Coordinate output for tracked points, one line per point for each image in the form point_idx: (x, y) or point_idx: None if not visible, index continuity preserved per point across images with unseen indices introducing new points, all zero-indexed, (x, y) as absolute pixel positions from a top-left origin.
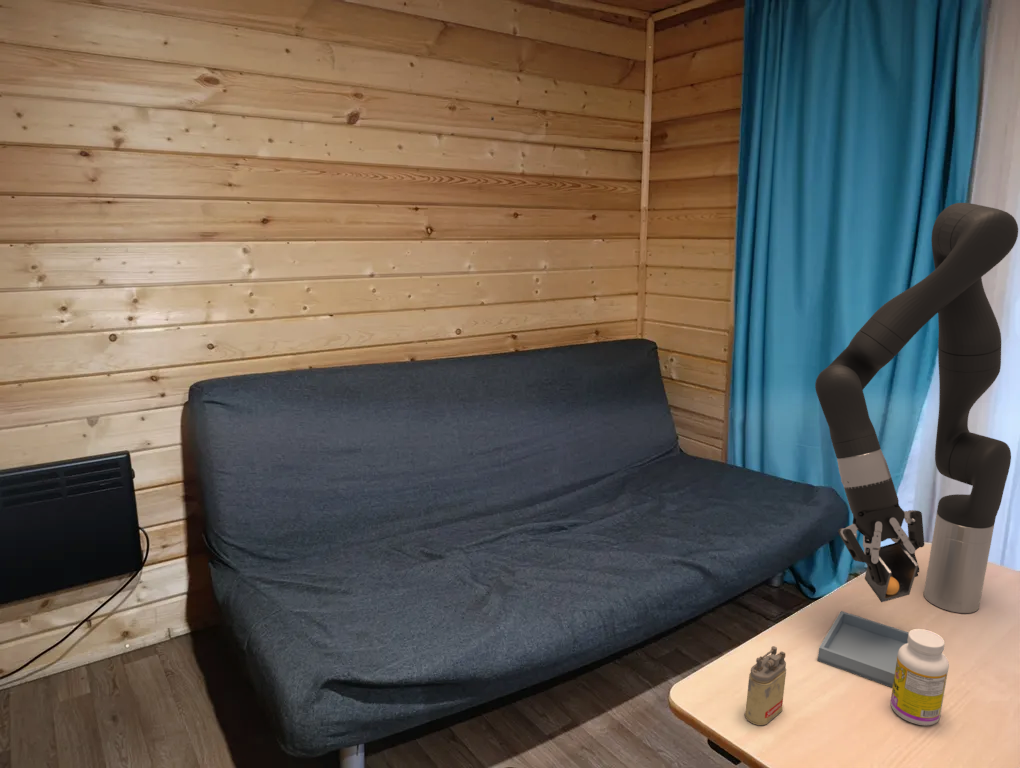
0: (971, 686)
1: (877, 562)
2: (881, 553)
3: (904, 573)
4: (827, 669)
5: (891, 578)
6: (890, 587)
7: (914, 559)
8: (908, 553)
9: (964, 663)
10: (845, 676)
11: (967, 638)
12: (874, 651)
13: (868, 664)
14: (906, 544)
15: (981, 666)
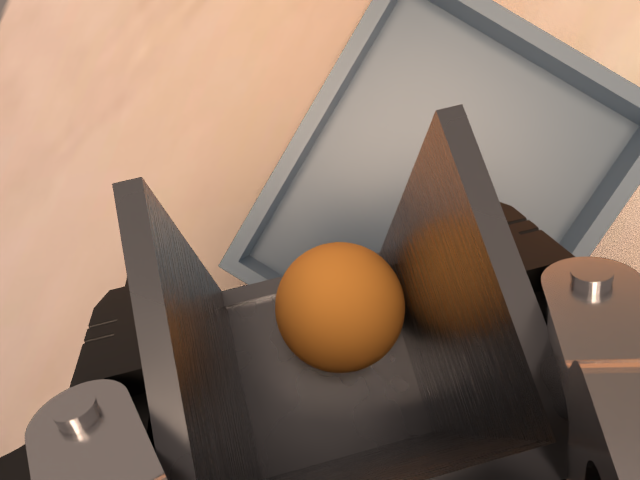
0: (120, 33)
1: (549, 265)
2: (427, 463)
3: (218, 343)
4: (631, 67)
5: (331, 310)
6: (356, 248)
7: (97, 363)
8: (145, 365)
9: (89, 173)
10: (572, 29)
11: (18, 332)
12: (403, 190)
13: (503, 13)
14: (115, 476)
15: (39, 161)
